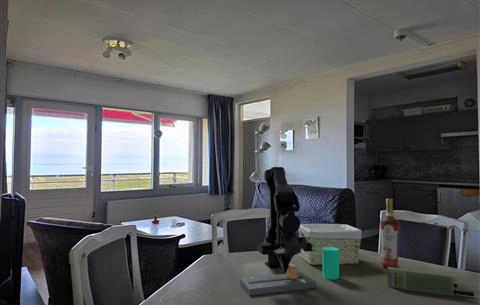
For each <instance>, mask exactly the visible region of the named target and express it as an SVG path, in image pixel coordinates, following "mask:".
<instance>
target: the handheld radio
mask: <svg viewBox="0 0 480 305" xmlns="http://www.w3.org/2000/svg"><path fill="white" fill-rule="evenodd" d="M457 276H458V275H457V274H454V273H446V272H444V273H443V272H435V271H427V270H419V269H409V268H401V267H397V268H393V267H388V269H387V287H388V288H391V289H394V288H395V289H401V290H407V291H413V292H414V291H415V292H422V293H429V294H437V295H444V296H452V297H454V295H461V296H467V297H475V293H474V291H467V290H456V289H455V288H458V284H457V283H454V282H457Z"/></svg>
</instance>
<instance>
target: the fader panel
mask: <svg viewBox="0 0 480 305" xmlns="http://www.w3.org/2000/svg"><path fill="white" fill-rule="evenodd" d="M239 285H240V287H242V289H243V290H244V291H245V292H246V293H247V295H248V296H257V295H265V294H275V293H280V292H281V293H282V292H283V293H284V292H293V291H299V290H308V289H316V288H317V282H316V281H315V280H314V279H313V278H311V277H310V276H308V275H307V274H305V273H304V272H299V271H297V279H290V278H288V277H287V276H286V273H280V274H270V275H261V276H260V275H259V276H251V277H242V278H241V277H240V278H239Z"/></svg>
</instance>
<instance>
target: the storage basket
mask: <svg viewBox="0 0 480 305" xmlns="http://www.w3.org/2000/svg"><path fill="white" fill-rule="evenodd" d="M297 231H298V238H299V237H305V239H306V241H308V242H310V243H311V244H312V246H313V248H312V251H309V252H305V251H304V250H303V249H301V252H300V253H299V256H300V257H301V258H302V259H303V260H304V261H305V262H306V263H308V264H309V265H313V266H314V265H316V266H317V265H322V248H323V247H335V248H337V249H339V265H346V264H347V265H352V264H358V263H359V258H360V256H359V255H360V250H361V249H360V247H361V239H362V233H363V232H362V230H361V229H359V228H356V227H354V226H351V225H349V224H346V223H345V224H341V223H304V224H303V223H300V228H299V229H298V230H297Z"/></svg>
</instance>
